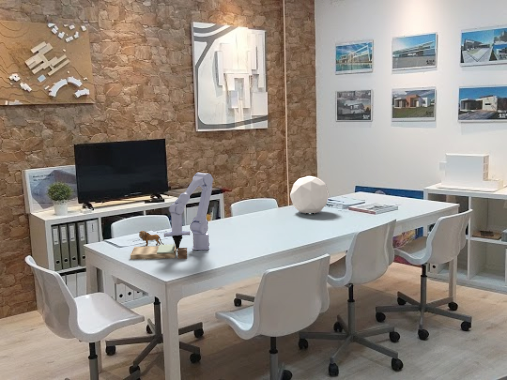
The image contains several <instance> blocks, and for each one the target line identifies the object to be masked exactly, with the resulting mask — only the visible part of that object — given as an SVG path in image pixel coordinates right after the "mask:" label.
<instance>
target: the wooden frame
mask: <svg viewBox="0 0 507 380" xmlns="http://www.w3.org/2000/svg"><path fill="white" fill-rule="evenodd" d="M158 248H159V246H158V245H154V246H152V245H150V246H149V245H148V246H134V247H133V248H132V251H131V252H130V255H129V256H130V260H157V259H159V260H160V259H176V255H177V253H178V252H177V250H178V249H176V246H175V249H174V253H157V251H158Z"/></svg>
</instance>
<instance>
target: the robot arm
mask: <svg viewBox="0 0 507 380" xmlns="http://www.w3.org/2000/svg"><path fill="white" fill-rule="evenodd" d="M213 182H214V178H213V176H212V174H211V173H205V172H196V173H195V174H194V175H193V176H192V180H191V182H190V183H189V186H187V188H186V190H185V191H184V192H181V193H180V194H179V196H178V197H177V198H176V200H175V201H174V202H173V203H171V204H170V205H169V207H168V211H169V213H170V216H171V218H170V219H171V231H169V232H164V233H163V237H164V238H167V237H172V240H173V243H175V246H176V249H177V250H178V248H180V245H181V242H182V239H183V236H191V234H192V249H191V250H192V251H197V250H198V251H203V250H204V251H206V250H210V239H209V238H210V235H209V232H208V230H209V220H207V214H208V209H209V205H210V200H211V195H212V190H213ZM198 187H200V188H201V194H200V199H199V202H198V203H199V204H198V207H197V212H196V216H195V217H193V218H192V221H191V222H190V224H189V231H185V230H184V231H183V213H184V212H185V207H186V205H187V204H188V202H190V199H191V197H190V196H191V195H192V194H193V193H194V192H195V191H196V190H197V188H198ZM207 232H208V233H207Z"/></svg>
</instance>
